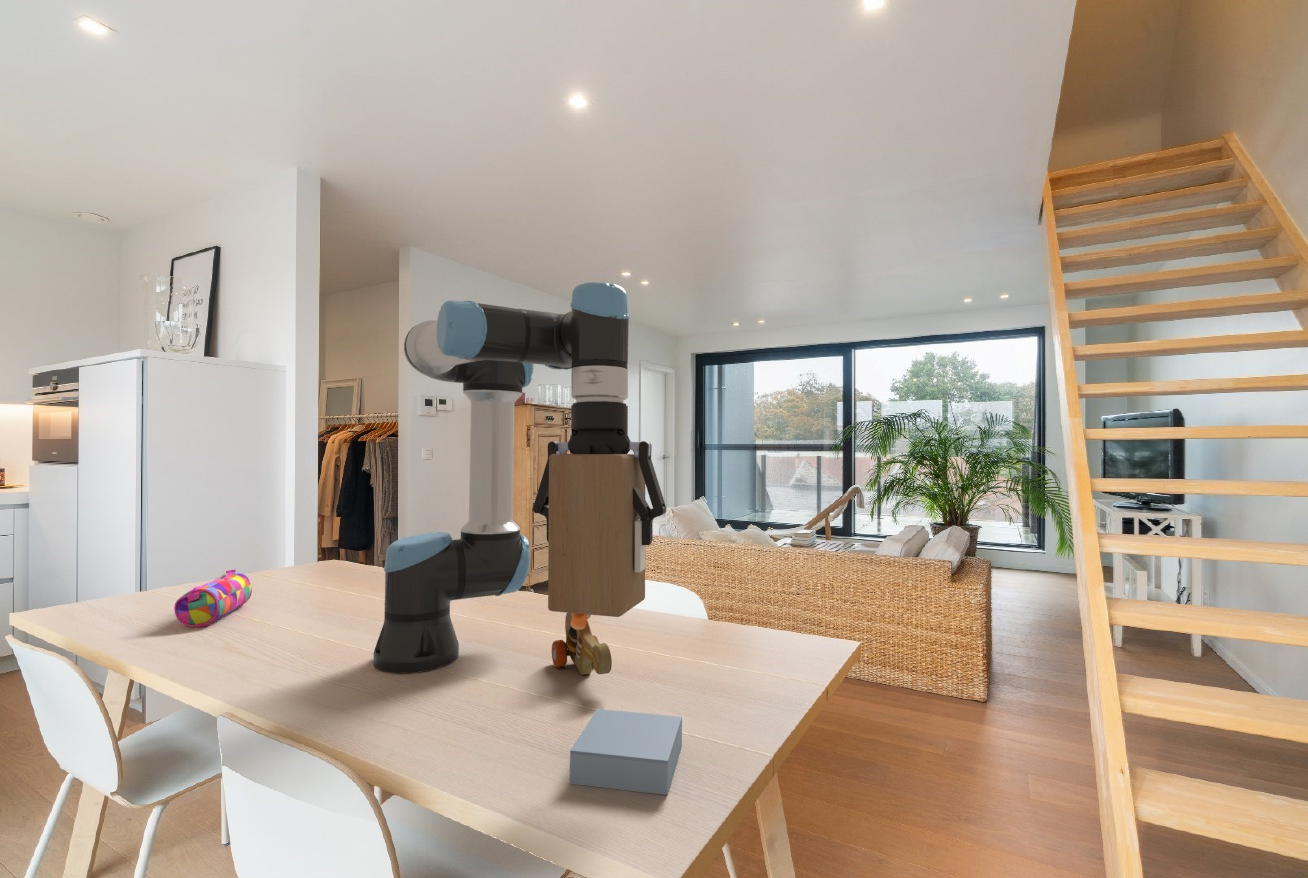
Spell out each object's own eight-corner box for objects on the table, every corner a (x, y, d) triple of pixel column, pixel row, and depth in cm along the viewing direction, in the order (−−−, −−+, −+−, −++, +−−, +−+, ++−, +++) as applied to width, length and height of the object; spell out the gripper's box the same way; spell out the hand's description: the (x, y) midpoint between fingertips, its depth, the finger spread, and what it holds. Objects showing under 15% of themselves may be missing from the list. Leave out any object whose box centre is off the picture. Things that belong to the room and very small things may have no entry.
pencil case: (210, 606, 153) (211, 570, 153) (253, 603, 156) (254, 568, 156) (170, 631, 132) (171, 589, 132) (221, 628, 135) (222, 587, 135)
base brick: (569, 783, 74) (570, 750, 74) (597, 737, 86) (597, 708, 86) (667, 795, 72) (667, 760, 72) (681, 746, 84) (682, 716, 84)
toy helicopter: (590, 655, 120) (591, 585, 120) (630, 695, 101) (631, 611, 101) (549, 661, 116) (550, 588, 116) (583, 703, 97) (584, 616, 98)
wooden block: (579, 594, 87) (580, 454, 88) (646, 599, 84) (646, 454, 85) (546, 611, 78) (547, 454, 78) (620, 618, 75) (620, 454, 75)
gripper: (507, 400, 80) (505, 570, 80) (680, 397, 76) (680, 577, 75) (530, 405, 88) (528, 560, 87) (689, 402, 83) (688, 566, 82)
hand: (598, 568), depth 81 cm, fingers closed on wooden block, 10 cm apart
